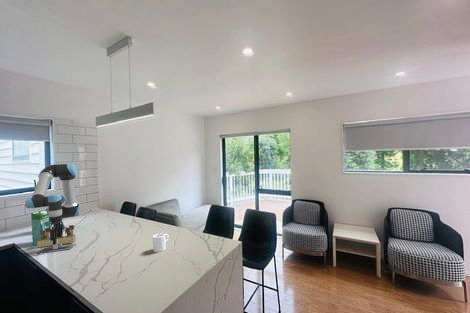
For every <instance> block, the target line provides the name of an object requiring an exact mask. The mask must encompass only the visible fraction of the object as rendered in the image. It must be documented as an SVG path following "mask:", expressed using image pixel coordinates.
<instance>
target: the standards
mask: <svg viewBox="0 0 470 313" xmlns="http://www.w3.org/2000/svg"><path fill="white" fill-rule="evenodd" d="M74 231H75V225H74V224H73V225H72V224H70V225H68V227H65V229H64V233H65V234H66V236H71V235H74ZM49 233H50V230H49V228H45V230H42V231H40V236H42V239H46V238H49ZM75 242H76V240H75V241H74V242H71V243H64V244H61V246H64V245H72V244H75ZM49 247H53V245H48V246H40V248H41V249H44V248H49Z"/></svg>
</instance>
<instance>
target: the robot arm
mask: <svg viewBox="0 0 470 313" xmlns="http://www.w3.org/2000/svg"><path fill="white" fill-rule="evenodd" d="M76 176H78V170H77V166H76V165H75V164H74V163H61V164H59V163H58V164H55V163H54V164H50V165H48V166H46V167H44V168H43V169H42V170H41V171H40V172H39V174H38V180H37V183H36V185H35V188H34V191H33V193H32V196H31V197H29V198H27V199H25V203H24V206H25V208H26V209H28V210H29V209H37V208H44V207H45V210H44V211H48V213H49V216H50V217H49V222H51V223H52V224H51V227H49V230H50V240H51V241H53V249H58V246H62V245H61V244H58V239H57V237H63V235H64V231H65V228H66V226H65V224H64V222H63V219H68V218H75V217H79V216H80V214H81V208H82V204H81V203H80V202H79V201H78V200H77V196H76V189H75V188H76V186H75V180H74V179H75V178H76ZM54 178H59V180H60V181H61V182H62V184H61V185H62V190H63V194H61V193H54V194H49V195H47V193H48V190H49V186H50V184H51V181H52V180H53V179H54Z"/></svg>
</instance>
